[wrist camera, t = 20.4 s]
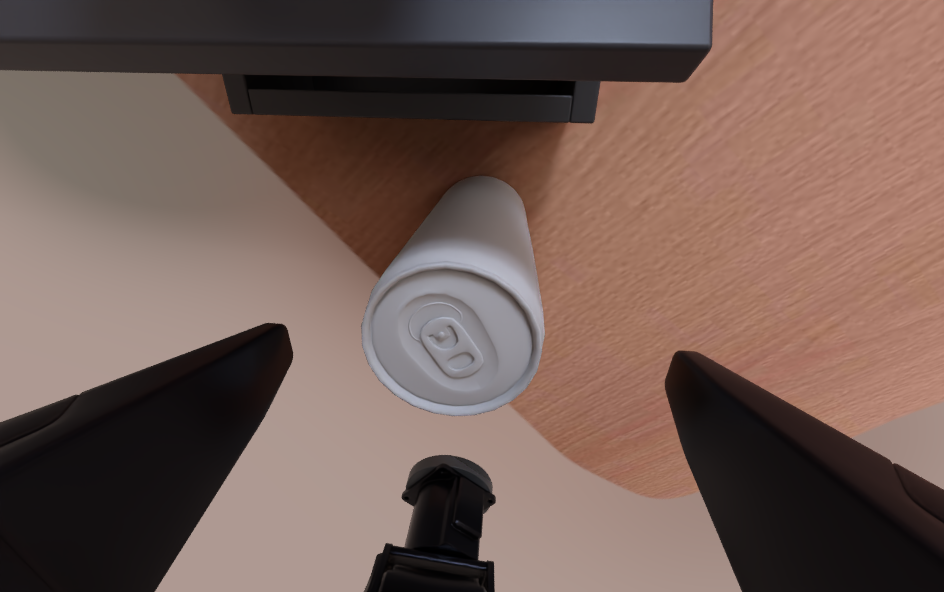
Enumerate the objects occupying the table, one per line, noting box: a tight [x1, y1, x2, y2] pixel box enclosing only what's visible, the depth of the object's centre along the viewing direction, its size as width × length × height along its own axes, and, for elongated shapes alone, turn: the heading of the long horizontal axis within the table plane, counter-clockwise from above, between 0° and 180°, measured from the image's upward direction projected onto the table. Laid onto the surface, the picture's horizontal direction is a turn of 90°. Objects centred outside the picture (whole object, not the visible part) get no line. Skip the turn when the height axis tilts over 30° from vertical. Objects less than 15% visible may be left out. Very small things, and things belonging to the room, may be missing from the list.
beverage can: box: [361, 176, 545, 416], centre depth 15 cm, size 5×5×12 cm
